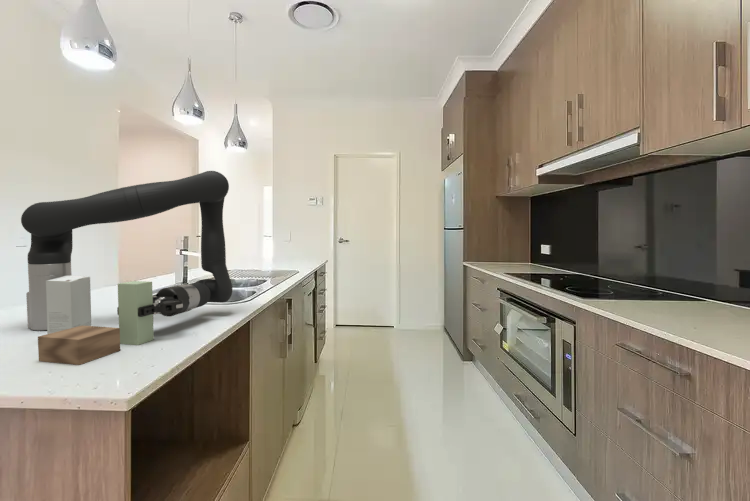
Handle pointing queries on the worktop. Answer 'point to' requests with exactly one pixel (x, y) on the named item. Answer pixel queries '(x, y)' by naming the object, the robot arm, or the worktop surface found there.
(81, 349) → the walnut riser block
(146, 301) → the sage block
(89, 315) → the skincare box
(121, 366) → the worktop surface
